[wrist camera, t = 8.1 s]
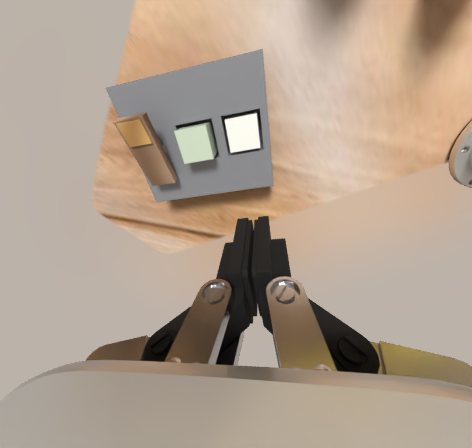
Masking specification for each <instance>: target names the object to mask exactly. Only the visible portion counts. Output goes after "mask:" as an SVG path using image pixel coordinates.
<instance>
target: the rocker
mask: <svg viewBox="0 0 472 448" xmlns="http://www.w3.org/2000/svg"><path fill="white" fill-rule="evenodd" d="M114 124H115V126H116V128H117V129H118V131H119V133H120V134H121V136H122V137H123V139H124V141H125V142H126V144H127V146H128V147H129V149H130V150H131V152H132V154H133V155H134V157H135V158H136V160H137V162H138V163H139V165H140V167H141V168H142V170H143V171H144V173H145V175H146V176H147V178H148V180H149V181H150V183H151V184H152V186H158V185H164V184H171V183H176V180H177V178H178V177H177V175H176V173H175V171H174V169H173V167H172V165H171V163H170V161H169V159H168V157H167V154H166V152H165V150H164V148H163V146H162V144H161V142H160V140H159V138H158V136H157V134H156V132H155V130H154V127H153V125H152V123H151V121H150V119H149V117H148V115H147V113H146V112H145V113H140V114H136V115H131V116H126V117H122V118H118V119H117V120H116V121H115V122H114Z"/></svg>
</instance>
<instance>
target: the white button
mask: <svg viewBox="0 0 472 448" xmlns="http://www.w3.org/2000/svg"><path fill="white" fill-rule="evenodd" d="M225 125H226V130H227V136H228V141H229V146H230V152H231V153H233V152H239V151H244V150H250V149H256V148H260V140H259V130H258V121H257V113H256V112H251V113H246V114H241V115H236V116H231V117H227V118H226V119H225Z"/></svg>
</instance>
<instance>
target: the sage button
mask: <svg viewBox="0 0 472 448" xmlns="http://www.w3.org/2000/svg"><path fill="white" fill-rule="evenodd" d="M174 133H175V136H176V139H177V142H178V145H179V148H180V151H181V155H182V158H183V161H184V164H187V163H193V162H199V161H204V160H210V159H214V157H215V156H216V154H217V148H216V143H215V139H214V134H213V130H212V125H211V122H206V123H201V124H196V125H191V126H186V127H182V128H180V129H178V130H175V131H174Z"/></svg>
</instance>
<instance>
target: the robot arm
mask: <svg viewBox="0 0 472 448" xmlns="http://www.w3.org/2000/svg"><path fill="white" fill-rule="evenodd" d="M449 170H450V173H451V175H452V177H453V178H454V180H456V181H457V182H458V183H460V184H462V185H464V186H467V187H470V188H472V121H471V122H470V123H469V124H468V125H467V126H466V128H465V129H464V130H463V131H462V133H461V134H460V136H459V137H458V139H457V140H456V142H455V144H454V146H453V149H452V151H451V154H450V158H449ZM257 303H258V308H259V313H260V316H262V319H263V324H264V327H265V328H267V330H269V332H271V333H272V334H273V339H274V345H275V350H276V355H277V361H278V366H279V368H270V367H252V366H237V365H238V360H239V356H240V350H241V346H242V342H243V338H244V330H245V329H246V328H247V327H249V325H250V323H253V316H257ZM0 448H472V366H470V365H468V364H467V363H465V362H463V361H460V360H457V359H455V358H452V357H447V356H442V355H439V354H434V353H430V352H425V351H421V350H417V349H412V348H408V347H404V346H400V345H395V344H391V343H386V342H382V341H380V342H379V343H375V342H370V341H368V340H367V339H366V338H365V337H363V336H362V335H361V334H359V333H358V332H356V331H355V330H354V329H352V328H351V327H349V326H348V325H346V324H345V323H343V322H342V321H341V320H339V319H338V318H336V317H335V316H333V315H332V314H330V313H329V312H327V311H326V310H324V309H323V308H322V307H320V306H319V305H317V304H316V303H314V302H313V301H311V300H310V299H308V298H307V295H306V293H305V290H304V288H303V286H302V285H301V283H300V282H298V281H297V280H295V279H294V278H291V273H290V267H289V261H288V254H287V248H286V241H285V239H272V240H271V235H270V226H269V217H268V216H263V217H258V220H255V223H254V229H253V223H252V220H248V218H242V219H238V220H237V225H236V230H235V235H234V241H233V242H231V243H226V244H225V246H224V250H223V254H222V258H221V262H220V266H219V270H218V274H217V278H216V279H214V280H211V281H208V282H207V283H205V284H204V285H203V286H202V287H201V289H200V290H199V292H198V294H197V296H196V298H195V300H194V302H193V304H192V306H191V307H189V308H188V309H187V310H186V311H184V312H183V313H181V314H180V315H179V316H177V317H176V318H174V319H173V320H172V321H170V322H169V323H168V324H166V325H165V326H164V327H162V328H161V329H160V330H158V331H157V332H156V333H154V334H153V335H152V336H151V337H148V336H147V335H146V336H142V337H137V338H133V339H129V340H125V341H120V342H116V343H112V344H107V345H104V346H102V347H99V348H98V349H96V350H95V351H94V352H92V353H91V355H90V356H89V357H88V358H87V359H86V361H82V362H75V363H71V364H67V365H63V366H60V367H57V368H54V369H52V370H49V371H47V372H44V373H42V374H40V375H38V376H36V377H34V378H32V379H30V380H28V381H26V382H25V383H23V384H21V385H20V386H18V387H17V388H16V389H14V390H13V391H12V392H10V393H9V394H8V395H7V396H6V397H5V398H4V399H3V400H1V402H0Z"/></svg>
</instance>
